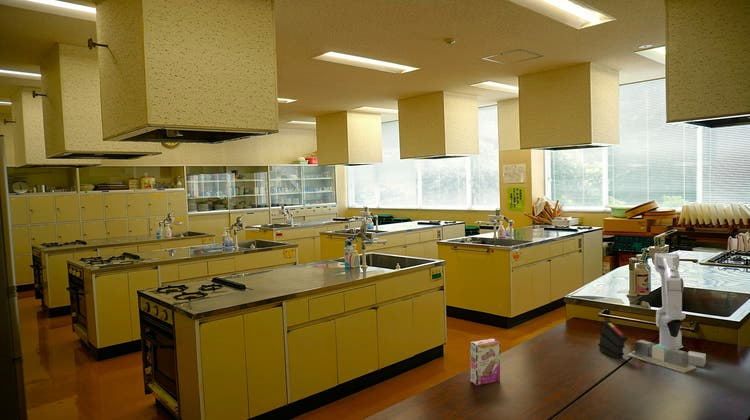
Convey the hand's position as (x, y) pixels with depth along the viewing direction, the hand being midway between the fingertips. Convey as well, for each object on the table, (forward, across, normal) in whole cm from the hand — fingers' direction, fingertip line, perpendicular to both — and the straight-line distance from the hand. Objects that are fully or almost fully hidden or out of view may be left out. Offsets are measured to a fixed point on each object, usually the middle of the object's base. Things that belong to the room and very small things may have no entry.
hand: (673, 336), depth 209 cm
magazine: (+11, -16, +18) cm, 26 cm away
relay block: (+11, +4, -7) cm, 13 cm away
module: (+9, -6, +2) cm, 11 cm away
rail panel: (+10, -6, +2) cm, 12 cm away
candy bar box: (+11, -83, +28) cm, 88 cm away
